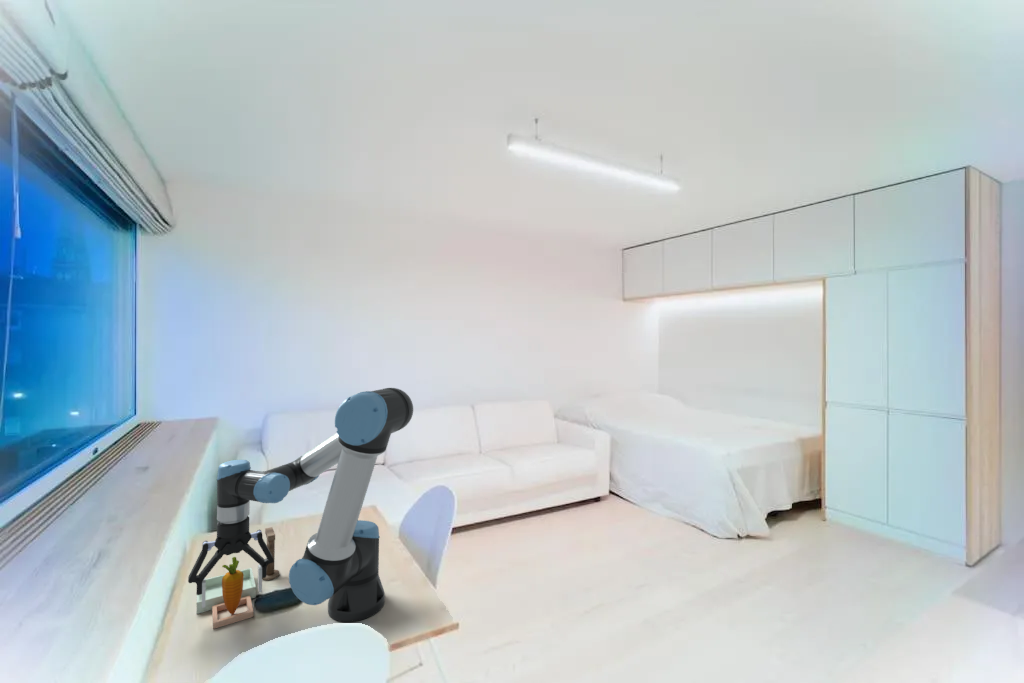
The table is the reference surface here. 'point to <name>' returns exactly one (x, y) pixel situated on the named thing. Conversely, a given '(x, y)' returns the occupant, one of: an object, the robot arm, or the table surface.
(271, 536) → the t stake
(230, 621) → the holder ring
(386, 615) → the table surface
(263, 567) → the robot arm
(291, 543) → the table surface
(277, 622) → the table surface
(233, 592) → the carrot
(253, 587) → the tray
